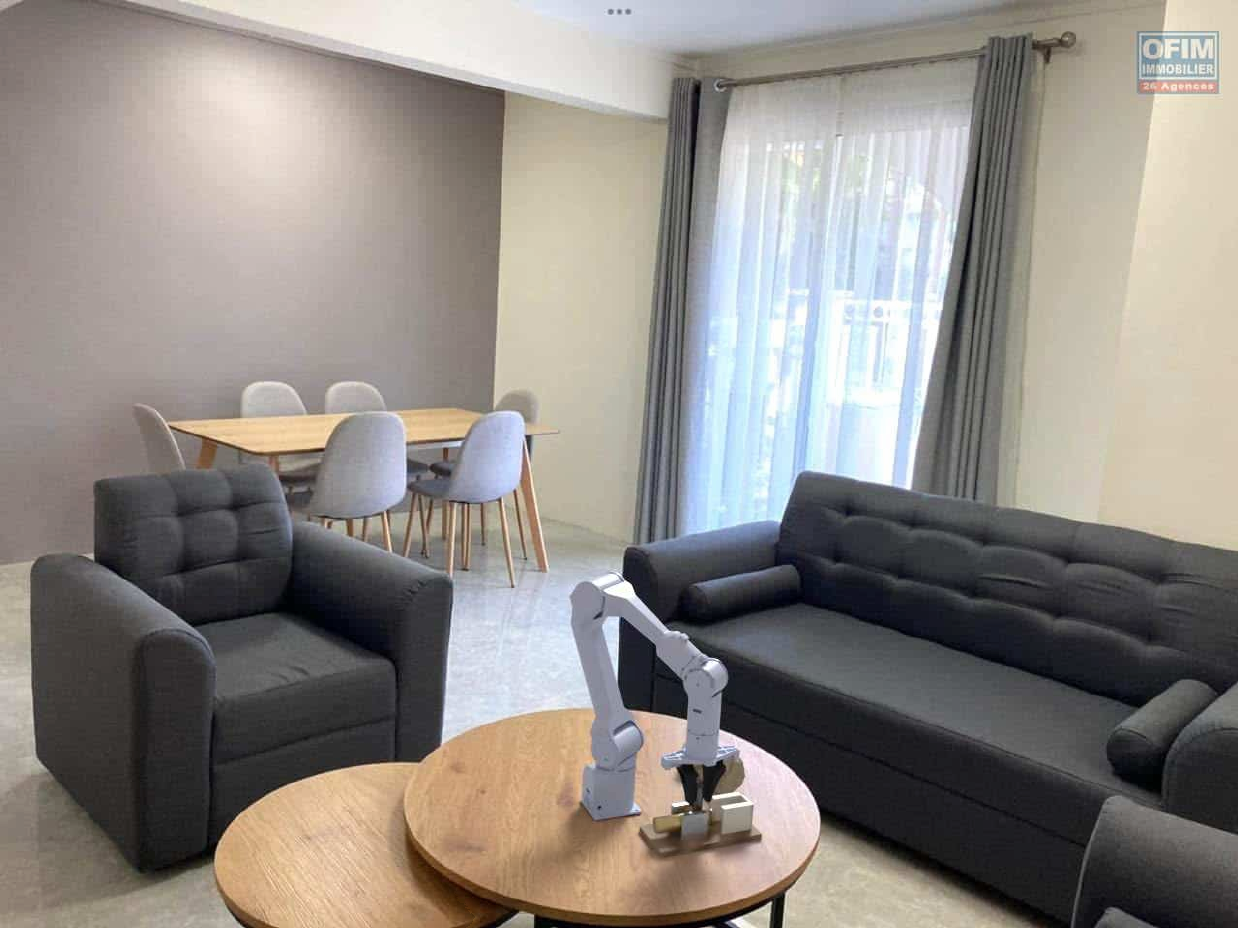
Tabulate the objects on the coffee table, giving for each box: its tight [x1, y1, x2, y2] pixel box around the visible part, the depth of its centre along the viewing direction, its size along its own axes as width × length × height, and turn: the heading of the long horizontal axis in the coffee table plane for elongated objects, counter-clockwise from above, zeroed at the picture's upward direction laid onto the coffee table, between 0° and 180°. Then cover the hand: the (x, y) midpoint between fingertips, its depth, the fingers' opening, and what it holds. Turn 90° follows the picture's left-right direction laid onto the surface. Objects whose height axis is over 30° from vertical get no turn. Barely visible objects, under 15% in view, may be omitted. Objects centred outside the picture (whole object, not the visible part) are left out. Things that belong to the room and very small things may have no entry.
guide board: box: [638, 801, 763, 859], centre depth 178 cm, size 20×9×6 cm, turn 112°
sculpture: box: [680, 741, 746, 796], centre depth 198 cm, size 9×17×10 cm
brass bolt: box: [652, 780, 715, 834], centre depth 176 cm, size 11×3×9 cm, turn 112°
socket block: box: [709, 791, 754, 834], centre depth 180 cm, size 6×5×5 cm
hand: (697, 801), depth 177 cm, fingers open, 3 cm apart
